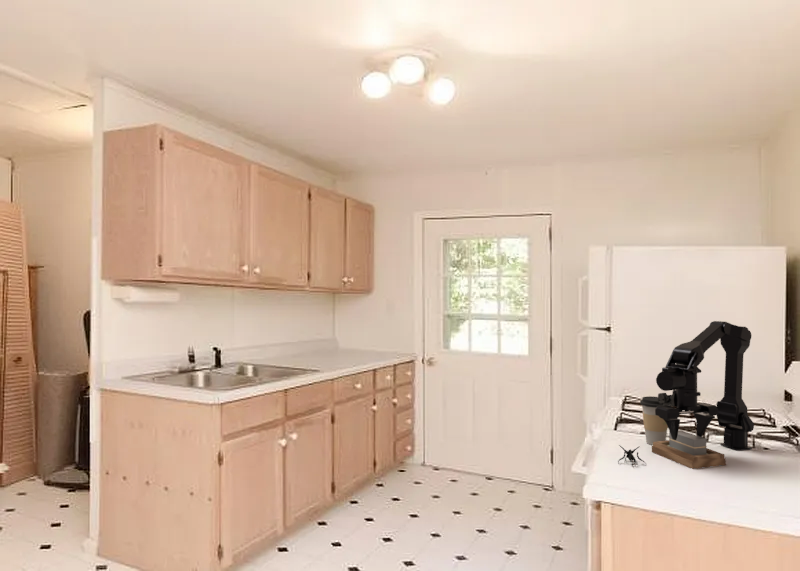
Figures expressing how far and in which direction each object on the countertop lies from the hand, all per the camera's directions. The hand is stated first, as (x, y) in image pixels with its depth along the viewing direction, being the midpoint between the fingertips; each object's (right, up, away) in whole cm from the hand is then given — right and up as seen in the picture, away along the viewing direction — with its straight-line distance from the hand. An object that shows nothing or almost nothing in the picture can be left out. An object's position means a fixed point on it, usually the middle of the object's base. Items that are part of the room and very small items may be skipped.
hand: (686, 438), depth 166 cm
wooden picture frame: (0, -6, 0) cm, 6 cm away
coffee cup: (-2, -6, +16) cm, 17 cm away
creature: (-19, -7, -5) cm, 21 cm away
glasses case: (0, -4, 0) cm, 4 cm away
